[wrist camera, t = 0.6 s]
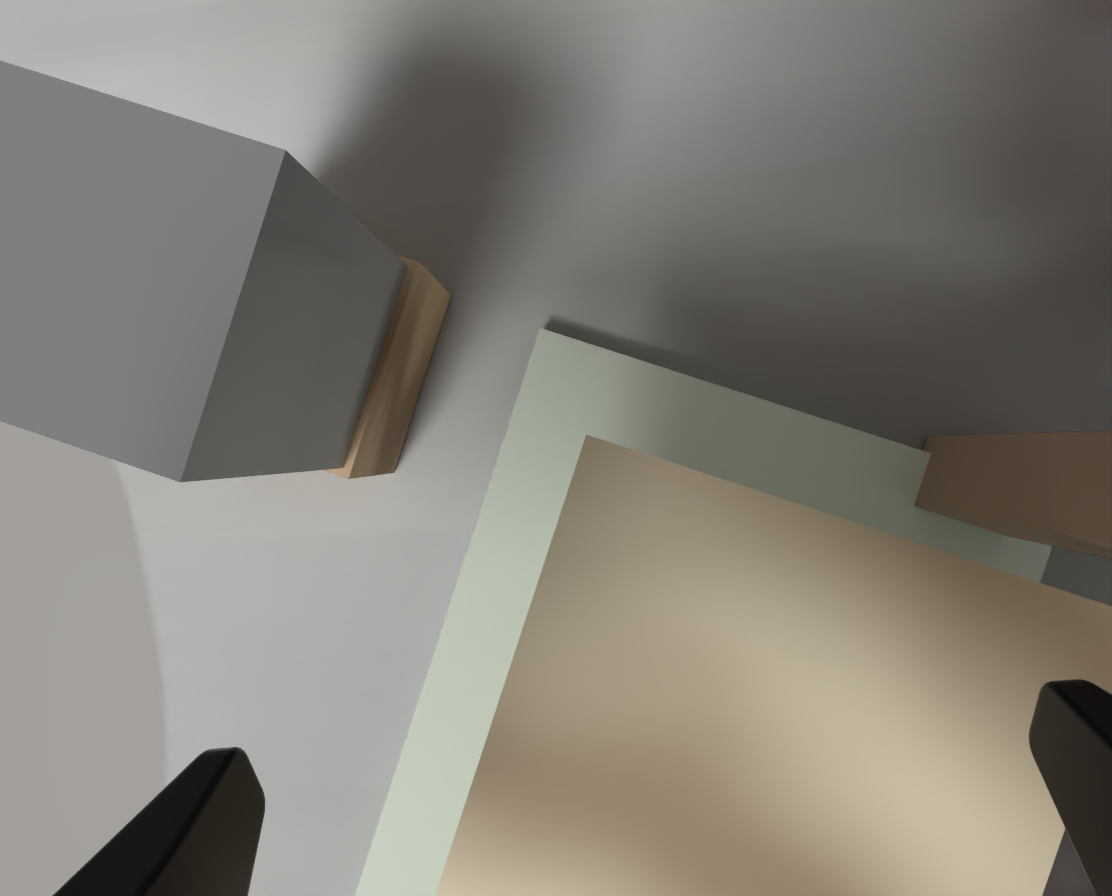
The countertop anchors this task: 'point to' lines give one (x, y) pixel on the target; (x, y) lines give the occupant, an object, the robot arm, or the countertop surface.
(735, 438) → the stand
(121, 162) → the basalt block
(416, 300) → the plinth
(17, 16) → the countertop surface
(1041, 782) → the trapdoor
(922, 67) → the countertop surface
